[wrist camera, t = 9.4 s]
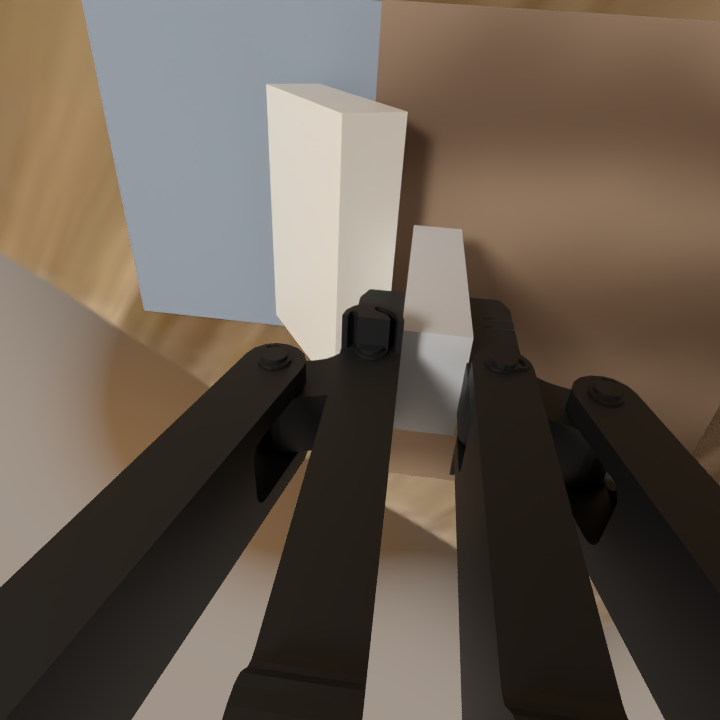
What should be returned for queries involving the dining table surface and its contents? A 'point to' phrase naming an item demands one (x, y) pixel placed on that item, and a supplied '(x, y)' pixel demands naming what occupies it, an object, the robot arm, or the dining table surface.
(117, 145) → the mat
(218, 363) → the dining table surface
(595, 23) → the brown wooden slab
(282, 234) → the white rectangular block
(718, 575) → the robot arm
